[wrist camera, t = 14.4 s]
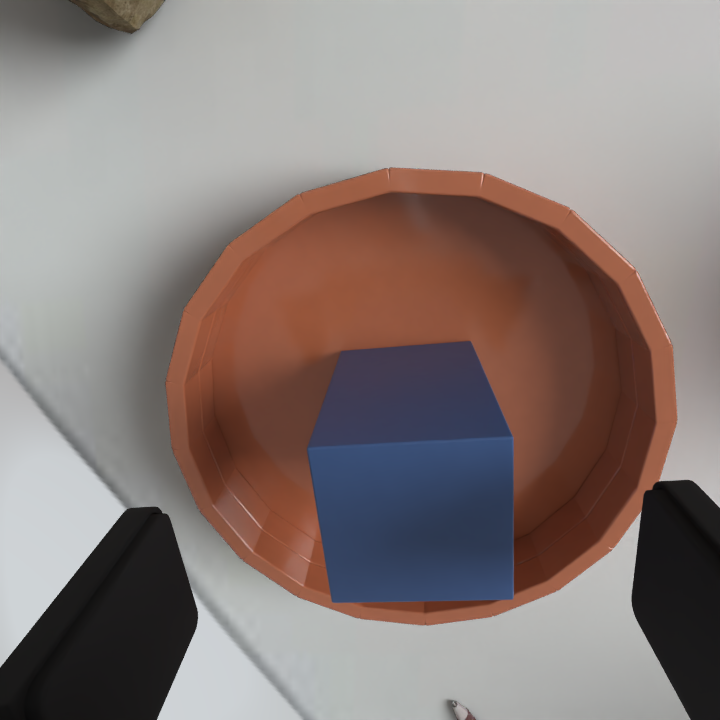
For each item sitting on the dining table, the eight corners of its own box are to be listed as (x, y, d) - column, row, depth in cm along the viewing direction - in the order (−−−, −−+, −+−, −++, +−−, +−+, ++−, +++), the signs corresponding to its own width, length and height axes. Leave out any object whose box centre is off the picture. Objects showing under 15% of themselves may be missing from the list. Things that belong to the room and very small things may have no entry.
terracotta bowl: (130, 414, 19) (83, 455, 16) (381, 57, 14) (377, 26, 11) (426, 620, 21) (430, 687, 18) (726, 375, 16) (793, 415, 14)
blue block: (354, 461, 18) (331, 603, 12) (340, 350, 17) (305, 447, 11) (475, 455, 18) (514, 600, 12) (471, 340, 16) (514, 436, 10)
